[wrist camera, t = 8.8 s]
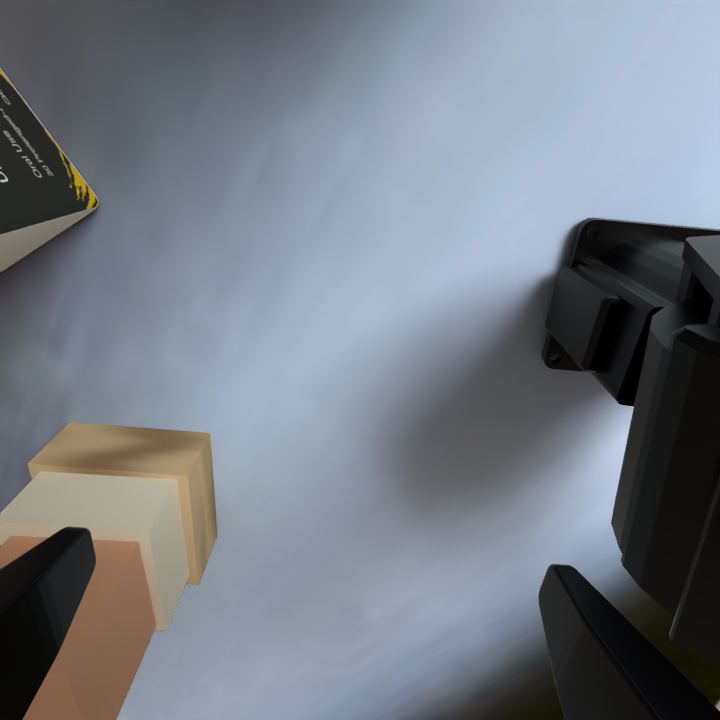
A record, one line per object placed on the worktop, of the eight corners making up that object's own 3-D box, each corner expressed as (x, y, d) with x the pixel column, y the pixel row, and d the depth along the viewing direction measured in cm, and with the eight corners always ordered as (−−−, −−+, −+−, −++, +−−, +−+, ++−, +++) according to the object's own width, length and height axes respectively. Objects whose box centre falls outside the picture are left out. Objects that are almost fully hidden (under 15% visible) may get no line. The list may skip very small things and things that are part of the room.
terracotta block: (138, 541, 19) (65, 674, 14) (156, 625, 21) (97, 762, 16) (10, 535, 19) (-105, 666, 14) (41, 619, 21) (-49, 755, 16)
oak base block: (211, 430, 24) (187, 475, 21) (218, 531, 27) (198, 584, 24) (72, 419, 24) (27, 463, 21) (94, 522, 27) (58, 574, 24)
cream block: (176, 479, 21) (148, 531, 18) (189, 574, 24) (166, 631, 21) (40, 471, 21) (-9, 522, 18) (68, 567, 24) (30, 623, 21)
